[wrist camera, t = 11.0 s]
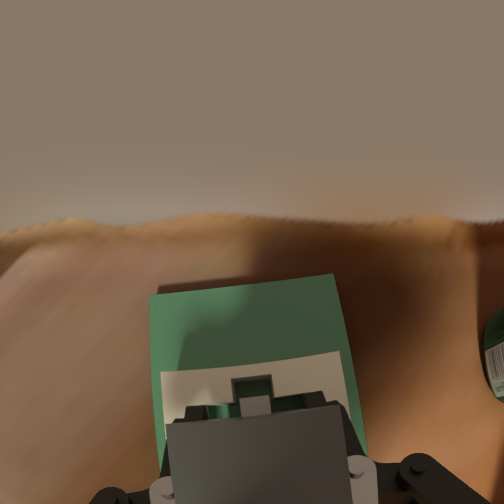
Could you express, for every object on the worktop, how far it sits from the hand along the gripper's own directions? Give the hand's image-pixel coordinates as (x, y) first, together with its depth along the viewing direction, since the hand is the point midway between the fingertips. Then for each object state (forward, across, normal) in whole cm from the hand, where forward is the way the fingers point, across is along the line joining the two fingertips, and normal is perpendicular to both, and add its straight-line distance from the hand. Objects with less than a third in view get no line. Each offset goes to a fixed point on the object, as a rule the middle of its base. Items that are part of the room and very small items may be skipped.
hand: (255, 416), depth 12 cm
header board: (+3, 0, +6) cm, 7 cm away
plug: (+1, 0, +4) cm, 5 cm away
